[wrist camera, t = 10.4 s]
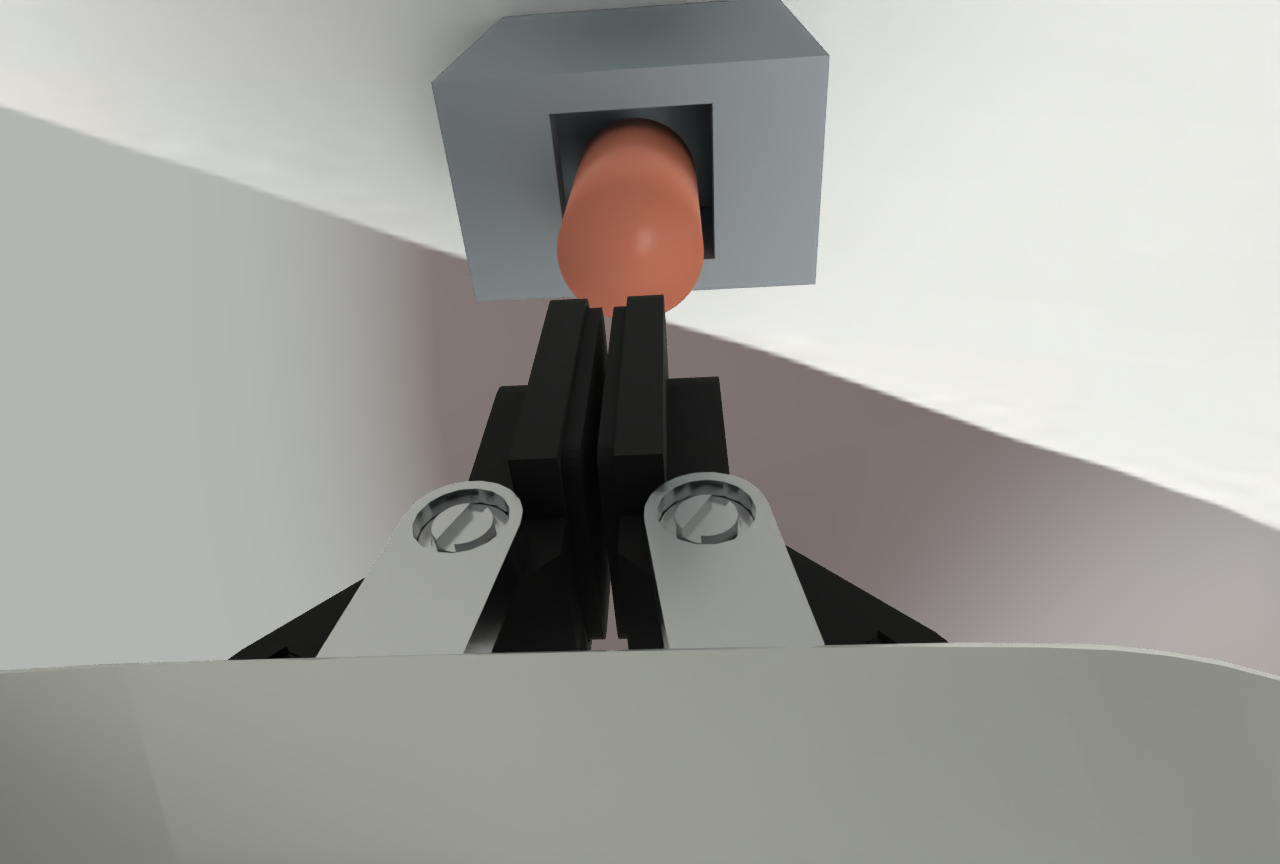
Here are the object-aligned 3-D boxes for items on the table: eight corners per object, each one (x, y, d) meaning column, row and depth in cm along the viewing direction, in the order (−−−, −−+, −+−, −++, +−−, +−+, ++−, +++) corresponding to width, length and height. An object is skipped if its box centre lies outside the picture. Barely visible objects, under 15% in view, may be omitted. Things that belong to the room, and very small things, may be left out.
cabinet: (503, 17, 26) (431, 82, 18) (777, -4, 26) (829, 55, 18) (527, 182, 30) (475, 301, 21) (772, 167, 29) (815, 284, 21)
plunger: (571, 121, 19) (547, 185, 16) (694, 114, 19) (701, 175, 15) (584, 239, 21) (566, 323, 17) (697, 233, 21) (705, 316, 17)
